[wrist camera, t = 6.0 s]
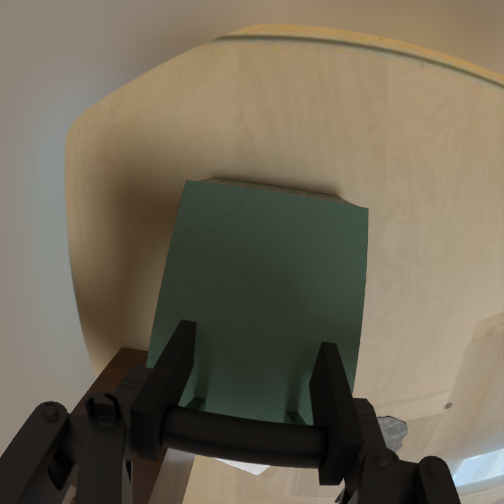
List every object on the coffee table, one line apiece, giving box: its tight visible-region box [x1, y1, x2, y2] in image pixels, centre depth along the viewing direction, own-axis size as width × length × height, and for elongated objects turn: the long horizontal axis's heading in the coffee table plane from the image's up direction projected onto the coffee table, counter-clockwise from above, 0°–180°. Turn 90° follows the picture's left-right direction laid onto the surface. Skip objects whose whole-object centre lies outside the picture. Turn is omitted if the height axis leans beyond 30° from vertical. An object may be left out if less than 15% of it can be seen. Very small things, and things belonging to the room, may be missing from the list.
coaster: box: [212, 457, 270, 475], centre depth 38 cm, size 8×8×1 cm
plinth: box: [62, 348, 196, 504], centre depth 26 cm, size 10×10×20 cm
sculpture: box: [377, 417, 408, 453], centre depth 36 cm, size 12×9×8 cm
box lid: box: [146, 180, 368, 469], centre depth 14 cm, size 15×12×7 cm
